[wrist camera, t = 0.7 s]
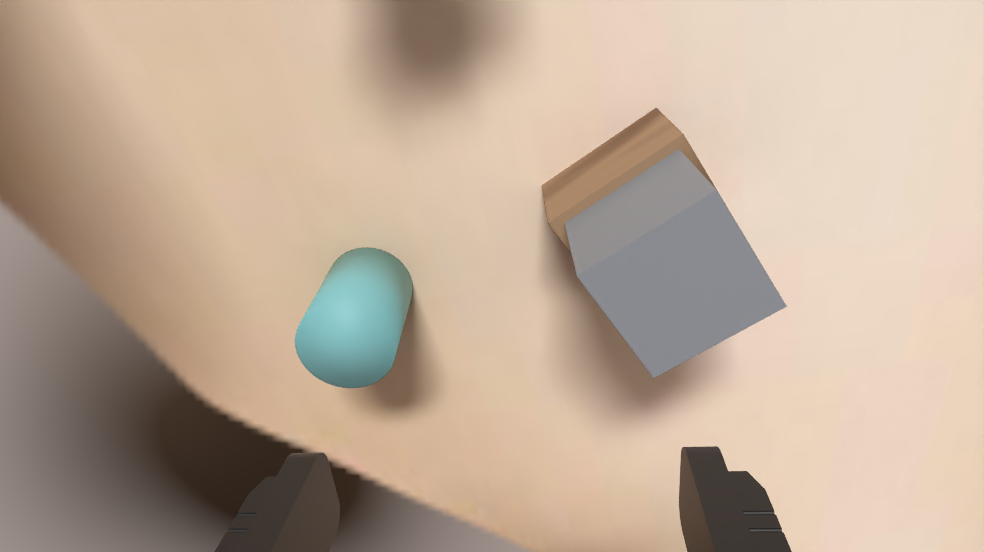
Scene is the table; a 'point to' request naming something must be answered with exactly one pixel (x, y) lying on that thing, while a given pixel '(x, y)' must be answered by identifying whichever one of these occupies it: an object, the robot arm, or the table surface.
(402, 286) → the teal pill shape
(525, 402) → the table surface
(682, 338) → the tower top
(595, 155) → the tower base
